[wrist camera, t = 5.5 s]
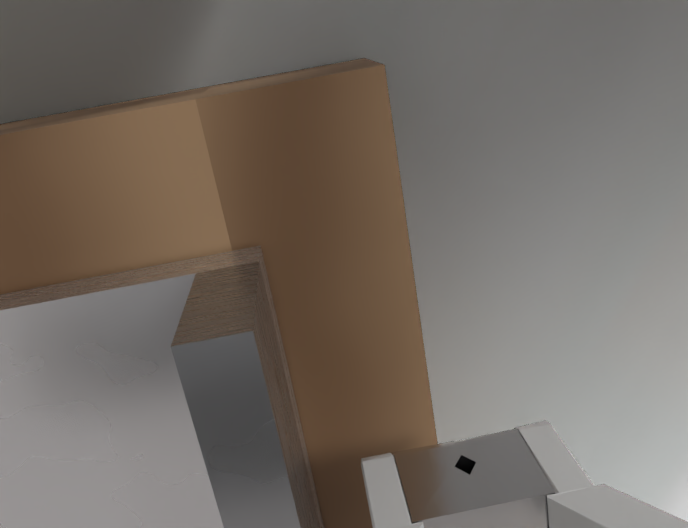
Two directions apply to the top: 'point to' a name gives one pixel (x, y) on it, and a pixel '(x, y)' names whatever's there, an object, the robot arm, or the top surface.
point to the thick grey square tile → (151, 402)
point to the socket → (249, 236)
